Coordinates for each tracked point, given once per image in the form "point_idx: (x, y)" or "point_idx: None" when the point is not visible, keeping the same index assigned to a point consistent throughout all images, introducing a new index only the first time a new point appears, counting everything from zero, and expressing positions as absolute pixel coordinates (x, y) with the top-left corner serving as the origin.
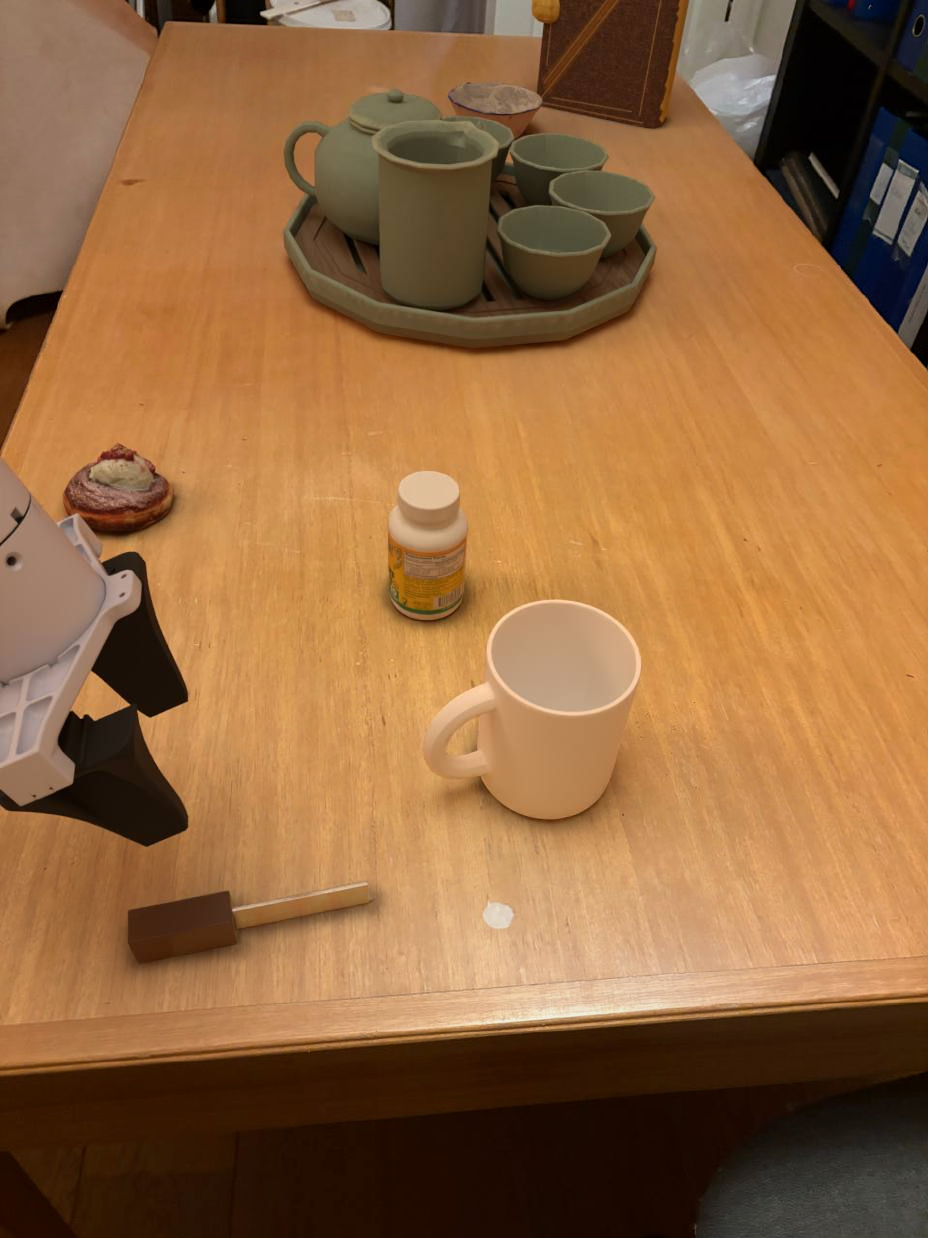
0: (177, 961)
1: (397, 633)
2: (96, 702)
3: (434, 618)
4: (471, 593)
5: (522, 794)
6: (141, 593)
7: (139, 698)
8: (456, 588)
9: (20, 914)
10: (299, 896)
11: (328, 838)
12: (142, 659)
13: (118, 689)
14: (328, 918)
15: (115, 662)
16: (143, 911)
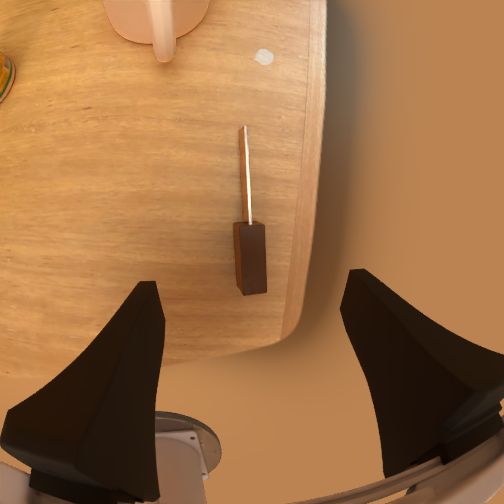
0: None
1: (16, 102)
2: (57, 327)
3: (13, 75)
4: None
5: (199, 13)
6: (89, 435)
7: (159, 341)
8: (2, 54)
9: (215, 352)
10: (248, 175)
11: (184, 153)
12: (139, 362)
13: (157, 370)
14: None
15: (146, 393)
16: (246, 285)
